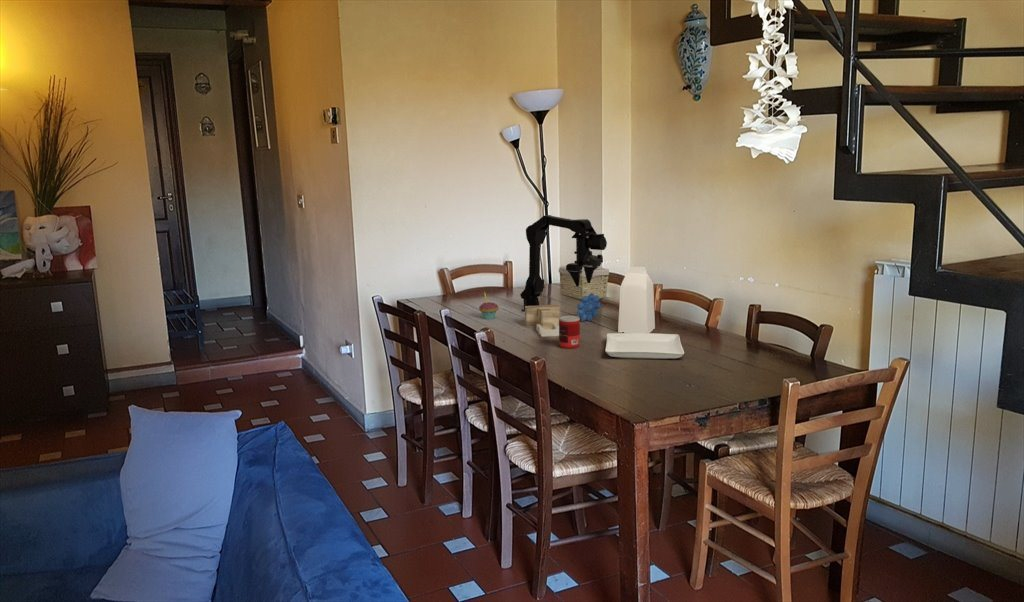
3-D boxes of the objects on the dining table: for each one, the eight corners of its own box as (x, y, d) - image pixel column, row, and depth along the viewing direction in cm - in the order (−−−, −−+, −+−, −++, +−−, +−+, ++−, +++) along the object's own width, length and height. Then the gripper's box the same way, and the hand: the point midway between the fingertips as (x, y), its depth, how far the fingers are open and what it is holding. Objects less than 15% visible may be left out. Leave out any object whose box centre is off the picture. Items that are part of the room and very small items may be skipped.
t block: (525, 324, 322) (524, 306, 320) (557, 323, 323) (557, 304, 322) (530, 332, 308) (530, 313, 306) (564, 330, 310) (564, 311, 308)
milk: (618, 332, 304) (618, 268, 299) (626, 326, 315) (626, 263, 310) (647, 334, 299) (648, 269, 294) (655, 328, 310) (655, 265, 305)
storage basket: (557, 294, 388) (557, 265, 385) (584, 291, 395) (584, 263, 392) (582, 302, 367) (582, 271, 364) (610, 298, 374) (610, 268, 371)
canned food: (582, 344, 287) (581, 315, 285) (576, 349, 279) (576, 320, 277) (562, 343, 289) (562, 315, 287) (556, 348, 282) (556, 319, 280)
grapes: (595, 317, 332) (595, 290, 329) (603, 320, 326) (603, 293, 323) (572, 320, 327) (572, 293, 325) (579, 323, 321) (579, 295, 319)
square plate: (605, 361, 265) (605, 350, 264) (606, 341, 291) (606, 332, 290) (684, 362, 261) (684, 351, 260) (678, 342, 287) (678, 332, 287)
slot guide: (536, 330, 311) (536, 324, 311) (556, 329, 312) (556, 323, 312) (541, 336, 300) (541, 330, 300) (561, 335, 301) (561, 329, 301)
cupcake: (476, 319, 334) (475, 292, 332) (484, 315, 342) (483, 289, 339) (494, 320, 331) (493, 293, 328) (501, 316, 338) (501, 290, 336)
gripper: (587, 252, 314) (587, 289, 317) (610, 247, 329) (610, 282, 332) (564, 251, 321) (565, 287, 324) (588, 246, 336) (588, 280, 338)
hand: (583, 284), depth 329 cm, fingers open, 9 cm apart
